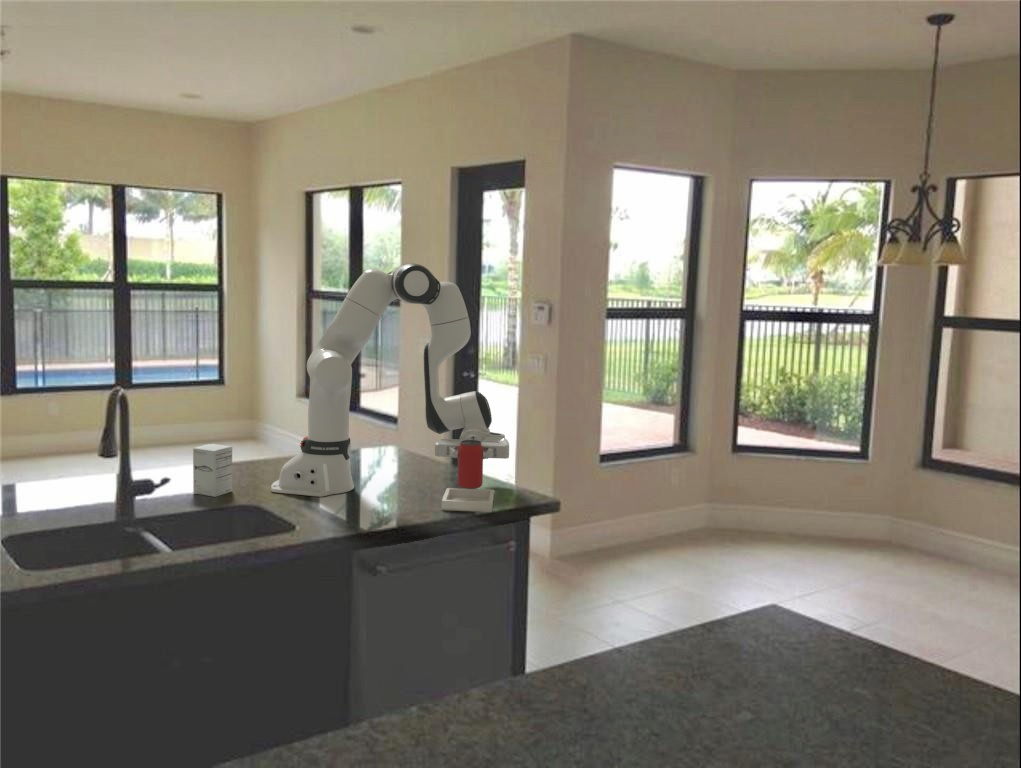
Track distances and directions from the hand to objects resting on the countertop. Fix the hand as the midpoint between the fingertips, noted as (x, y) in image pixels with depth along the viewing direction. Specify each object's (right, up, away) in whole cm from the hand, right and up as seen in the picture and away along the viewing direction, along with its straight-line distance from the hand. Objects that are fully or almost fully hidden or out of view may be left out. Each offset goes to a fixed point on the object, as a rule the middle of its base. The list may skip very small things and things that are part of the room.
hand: (470, 455), depth 221 cm
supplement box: (-70, -11, +5) cm, 71 cm away
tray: (-1, -13, +2) cm, 14 cm away
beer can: (0, -9, +2) cm, 9 cm away
